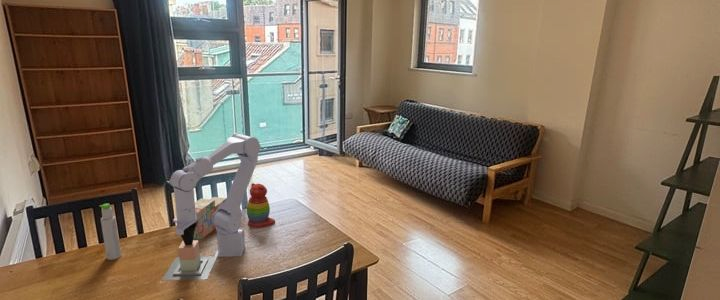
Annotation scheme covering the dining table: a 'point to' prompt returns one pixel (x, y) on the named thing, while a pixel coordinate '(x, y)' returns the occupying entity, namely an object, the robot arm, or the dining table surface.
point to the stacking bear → (258, 207)
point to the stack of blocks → (206, 215)
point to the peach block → (188, 251)
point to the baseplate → (200, 274)
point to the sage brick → (190, 264)
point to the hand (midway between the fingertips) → (188, 244)
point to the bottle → (110, 233)
